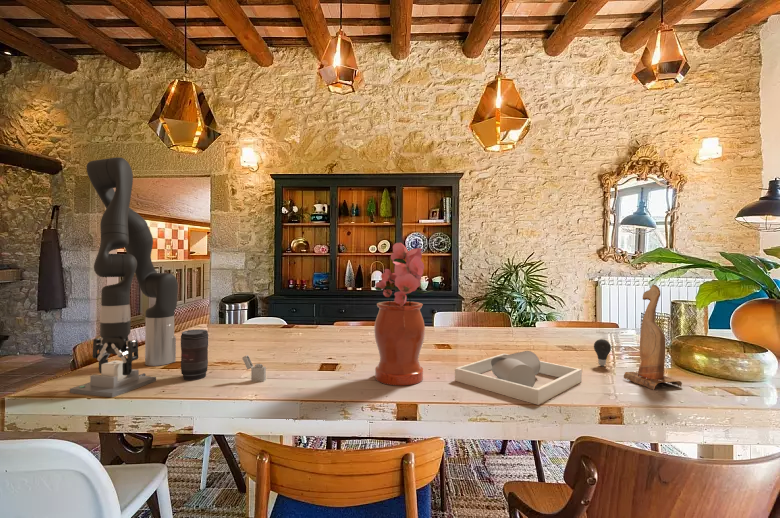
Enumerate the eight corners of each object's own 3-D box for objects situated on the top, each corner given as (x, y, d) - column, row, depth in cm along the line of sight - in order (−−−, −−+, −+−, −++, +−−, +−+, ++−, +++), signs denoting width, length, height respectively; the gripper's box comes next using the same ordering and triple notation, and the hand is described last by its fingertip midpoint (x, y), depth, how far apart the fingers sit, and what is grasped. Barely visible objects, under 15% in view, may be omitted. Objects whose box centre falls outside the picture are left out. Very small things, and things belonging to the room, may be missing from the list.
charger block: (101, 384, 115) (101, 363, 115) (115, 379, 119) (115, 360, 119) (113, 385, 114) (113, 365, 114) (127, 380, 118) (127, 361, 118)
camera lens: (176, 381, 122) (176, 334, 122) (185, 374, 130) (186, 329, 130) (203, 380, 123) (204, 333, 123) (211, 373, 131) (211, 329, 131)
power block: (125, 374, 129) (125, 362, 129) (163, 378, 125) (163, 365, 125) (69, 392, 111) (69, 378, 111) (112, 397, 108) (112, 382, 108)
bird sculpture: (647, 376, 131) (648, 283, 131) (683, 387, 120) (684, 285, 120) (622, 379, 127) (623, 283, 128) (657, 391, 116) (657, 285, 116)
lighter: (265, 380, 124) (266, 355, 124) (263, 381, 122) (263, 356, 122) (244, 379, 125) (244, 354, 125) (241, 381, 123) (242, 355, 123)
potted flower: (425, 366, 142) (426, 243, 142) (437, 389, 116) (438, 240, 116) (373, 366, 141) (374, 242, 141) (374, 390, 115) (375, 239, 115)
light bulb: (590, 364, 146) (590, 337, 146) (604, 364, 147) (604, 337, 147) (599, 368, 141) (599, 340, 141) (614, 368, 141) (614, 340, 141)
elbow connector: (478, 369, 134) (501, 389, 114) (485, 339, 134) (509, 353, 114) (526, 379, 136) (556, 400, 116) (533, 350, 136) (564, 366, 116)
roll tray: (503, 364, 146) (503, 353, 146) (581, 381, 125) (581, 369, 125) (454, 380, 125) (454, 368, 125) (538, 405, 105) (538, 390, 105)
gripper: (84, 320, 115) (83, 375, 115) (123, 322, 111) (123, 379, 111) (108, 317, 122) (107, 368, 122) (145, 319, 119) (145, 371, 119)
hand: (115, 373), depth 117 cm, fingers open, 8 cm apart
